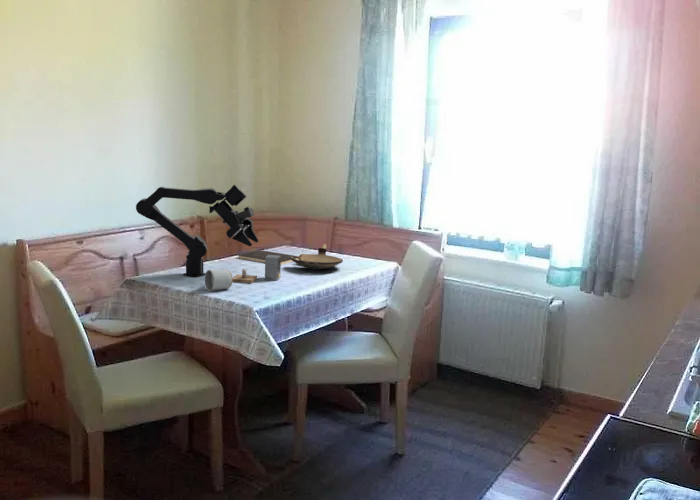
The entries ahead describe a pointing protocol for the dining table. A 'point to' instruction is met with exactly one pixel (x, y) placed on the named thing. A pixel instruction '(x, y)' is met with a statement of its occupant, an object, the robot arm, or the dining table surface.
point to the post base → (244, 278)
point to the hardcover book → (261, 255)
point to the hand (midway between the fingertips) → (254, 243)
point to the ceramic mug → (218, 279)
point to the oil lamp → (317, 260)
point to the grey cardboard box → (272, 267)
